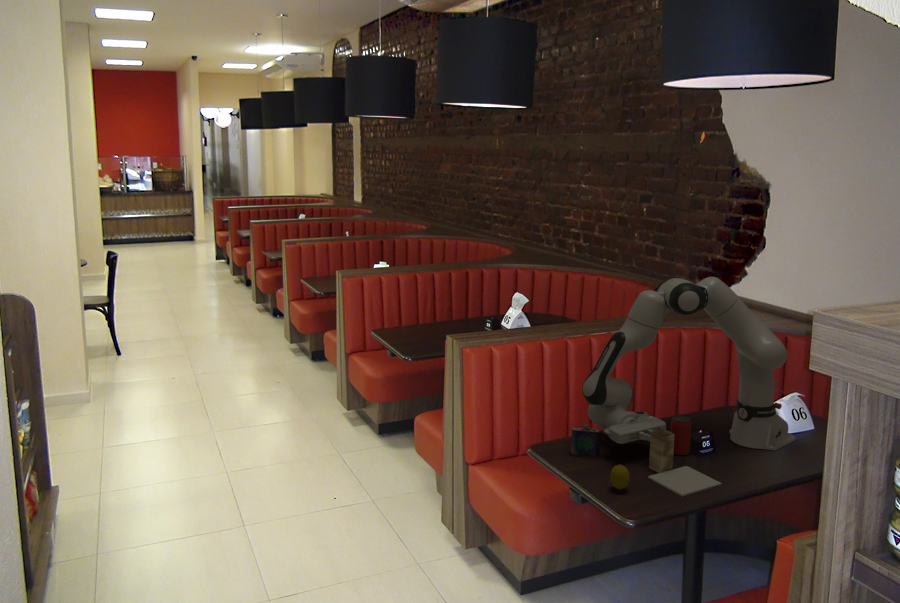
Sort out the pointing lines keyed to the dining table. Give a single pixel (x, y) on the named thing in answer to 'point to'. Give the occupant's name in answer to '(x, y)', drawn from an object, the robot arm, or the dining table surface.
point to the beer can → (681, 434)
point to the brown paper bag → (661, 450)
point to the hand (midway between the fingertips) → (654, 438)
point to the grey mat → (684, 481)
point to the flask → (585, 442)
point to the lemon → (619, 477)
